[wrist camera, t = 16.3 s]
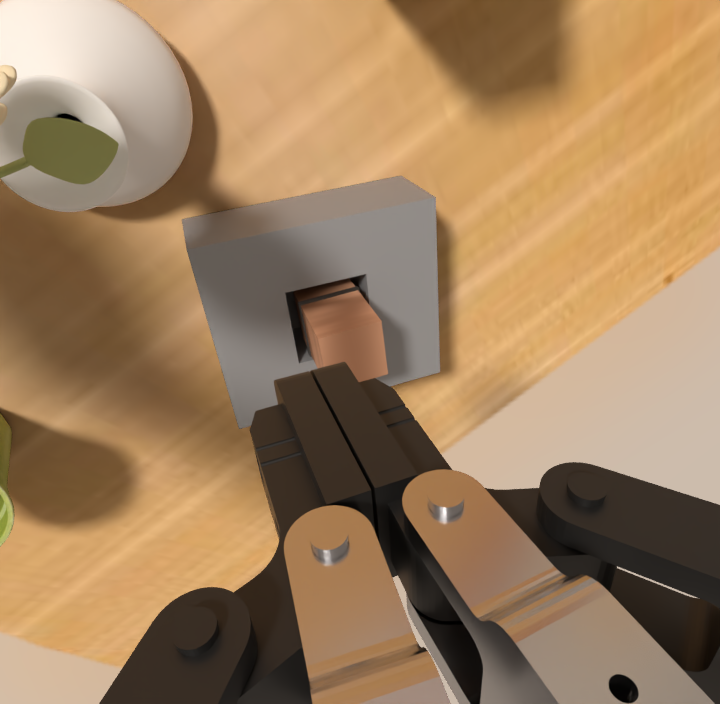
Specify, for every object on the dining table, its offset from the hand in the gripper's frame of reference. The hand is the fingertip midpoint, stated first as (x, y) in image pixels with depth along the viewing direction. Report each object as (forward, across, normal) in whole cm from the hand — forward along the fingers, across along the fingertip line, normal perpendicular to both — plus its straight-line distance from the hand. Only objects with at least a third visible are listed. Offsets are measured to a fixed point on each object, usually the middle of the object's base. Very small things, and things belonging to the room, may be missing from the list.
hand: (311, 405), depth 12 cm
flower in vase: (+30, +6, -3) cm, 31 cm away
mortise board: (+29, -7, +11) cm, 32 cm away
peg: (+28, -7, +12) cm, 31 cm away
